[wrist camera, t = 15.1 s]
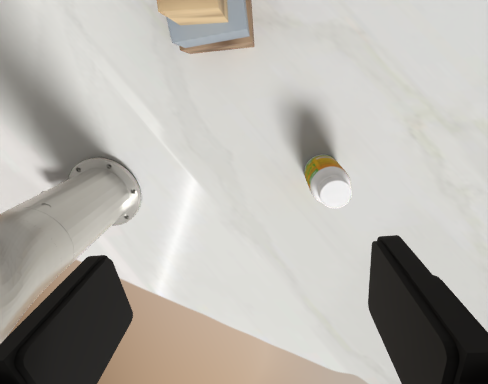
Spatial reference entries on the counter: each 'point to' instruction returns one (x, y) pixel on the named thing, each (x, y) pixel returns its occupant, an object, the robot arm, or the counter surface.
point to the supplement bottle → (328, 181)
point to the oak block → (194, 11)
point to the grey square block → (212, 28)
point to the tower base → (228, 44)
